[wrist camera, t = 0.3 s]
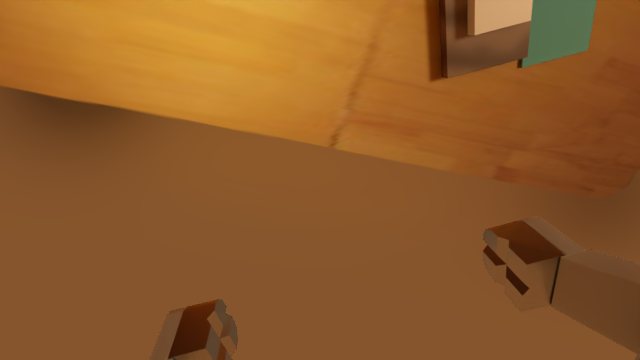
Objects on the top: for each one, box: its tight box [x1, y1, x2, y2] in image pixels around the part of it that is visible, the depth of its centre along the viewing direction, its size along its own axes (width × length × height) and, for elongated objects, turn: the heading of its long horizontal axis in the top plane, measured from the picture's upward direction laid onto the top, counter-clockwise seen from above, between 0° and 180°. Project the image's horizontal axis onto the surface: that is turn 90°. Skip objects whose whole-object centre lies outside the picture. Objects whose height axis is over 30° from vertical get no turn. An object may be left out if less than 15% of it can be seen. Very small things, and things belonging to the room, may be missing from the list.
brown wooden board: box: [439, 0, 531, 78], centre depth 49 cm, size 18×14×2 cm
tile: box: [468, 0, 533, 35], centre depth 47 cm, size 6×9×2 cm, turn 103°
